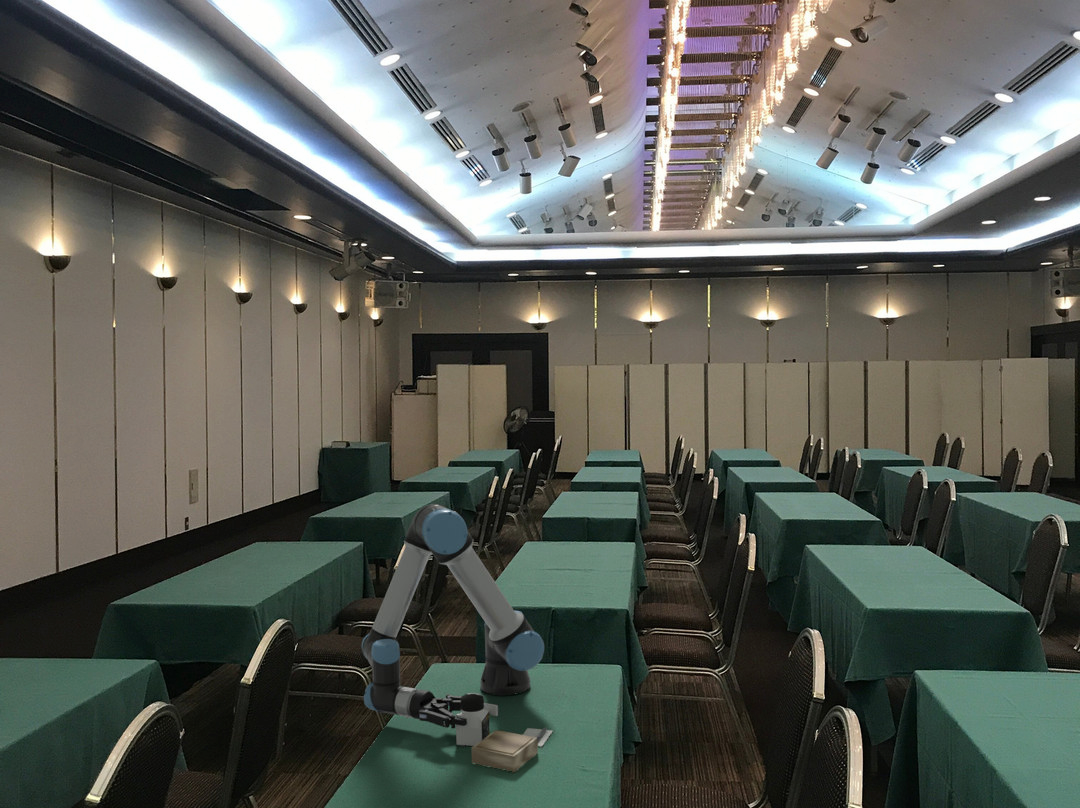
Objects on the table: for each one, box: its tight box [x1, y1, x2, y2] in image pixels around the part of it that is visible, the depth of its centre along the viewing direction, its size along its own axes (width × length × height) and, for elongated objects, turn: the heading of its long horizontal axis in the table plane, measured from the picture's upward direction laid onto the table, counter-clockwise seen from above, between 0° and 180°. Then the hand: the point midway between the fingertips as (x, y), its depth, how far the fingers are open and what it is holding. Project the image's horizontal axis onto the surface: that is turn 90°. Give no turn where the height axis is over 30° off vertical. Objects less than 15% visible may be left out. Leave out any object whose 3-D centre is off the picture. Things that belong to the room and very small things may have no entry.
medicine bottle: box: [455, 692, 491, 747], centre depth 238 cm, size 7×7×12 cm
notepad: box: [522, 727, 554, 748], centre depth 239 cm, size 10×7×2 cm
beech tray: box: [471, 729, 539, 773], centre depth 227 cm, size 12×12×4 cm
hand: (488, 716), depth 236 cm, fingers closed on medicine bottle, 8 cm apart
